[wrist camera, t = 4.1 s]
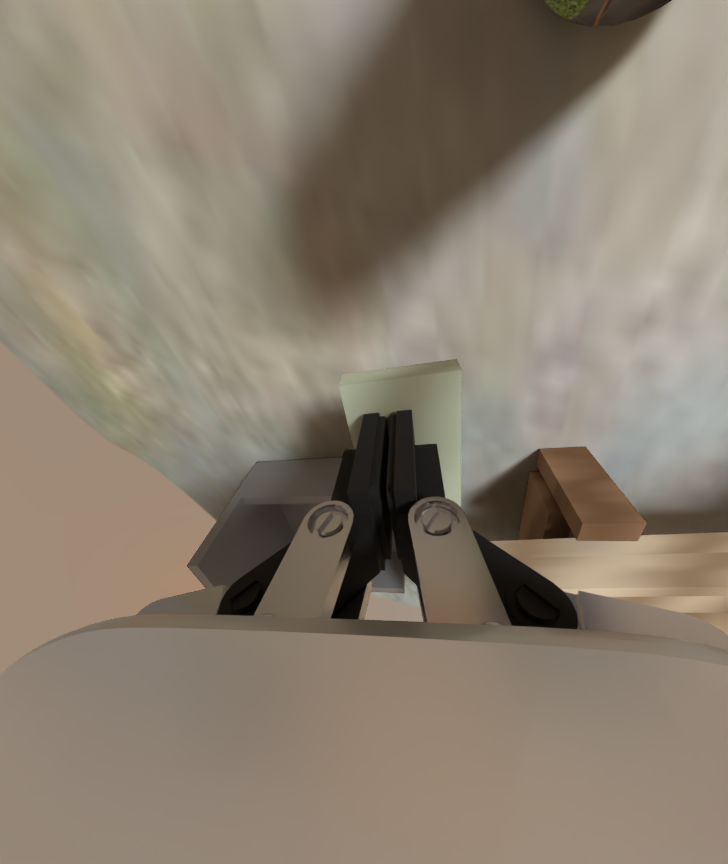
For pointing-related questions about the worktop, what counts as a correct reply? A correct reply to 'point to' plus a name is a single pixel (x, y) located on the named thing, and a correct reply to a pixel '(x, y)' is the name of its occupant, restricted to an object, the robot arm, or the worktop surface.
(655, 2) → the beverage can
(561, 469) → the fulcrum
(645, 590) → the lever
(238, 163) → the worktop surface
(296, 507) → the bin
